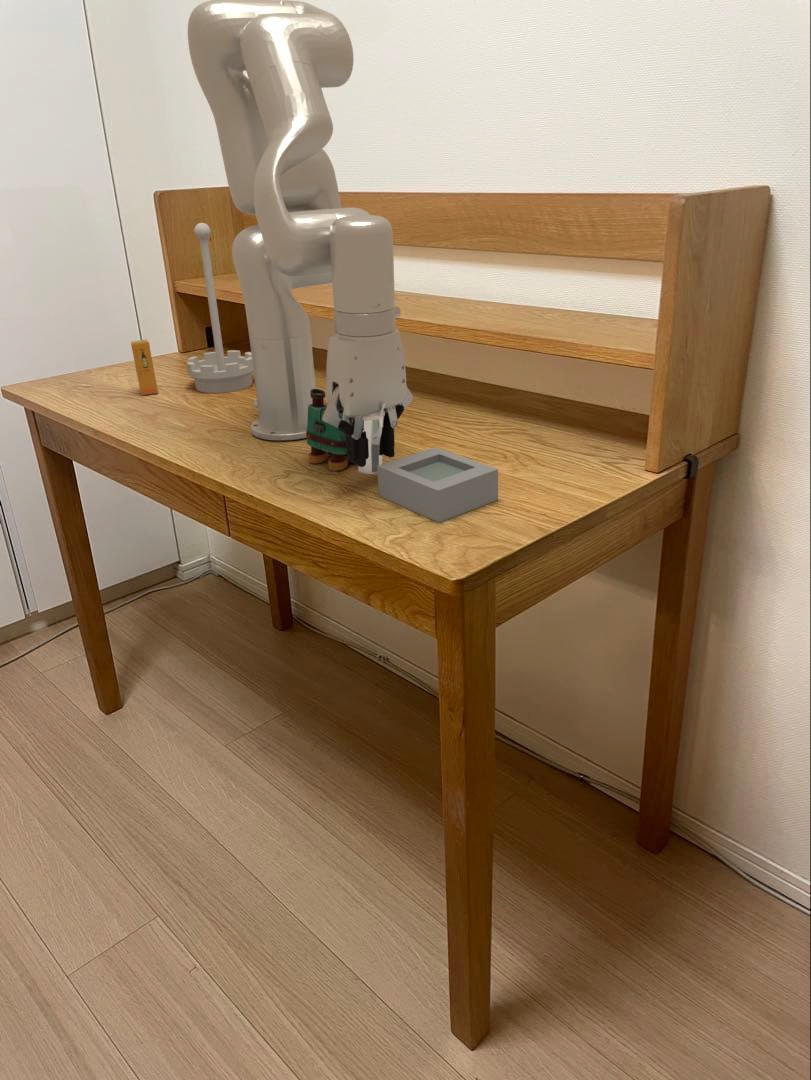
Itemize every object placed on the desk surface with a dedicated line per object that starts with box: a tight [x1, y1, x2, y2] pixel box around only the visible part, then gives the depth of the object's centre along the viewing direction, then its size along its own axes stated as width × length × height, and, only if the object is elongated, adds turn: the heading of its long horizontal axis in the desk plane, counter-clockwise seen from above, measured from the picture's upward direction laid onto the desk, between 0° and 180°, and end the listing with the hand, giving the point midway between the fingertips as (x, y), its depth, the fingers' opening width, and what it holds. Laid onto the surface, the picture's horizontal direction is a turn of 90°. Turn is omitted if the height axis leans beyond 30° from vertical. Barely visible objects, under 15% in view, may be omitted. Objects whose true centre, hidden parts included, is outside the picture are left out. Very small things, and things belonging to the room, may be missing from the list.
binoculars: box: [306, 388, 350, 472], centre depth 122 cm, size 9×11×10 cm
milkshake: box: [352, 403, 386, 475], centre depth 112 cm, size 4×5×10 cm
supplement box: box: [130, 339, 159, 397], centre depth 160 cm, size 3×3×10 cm
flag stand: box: [186, 222, 254, 394], centre depth 159 cm, size 13×13×30 cm
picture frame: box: [376, 446, 499, 524], centre depth 108 cm, size 12×10×4 cm
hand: (371, 457), depth 113 cm, fingers closed on milkshake, 4 cm apart
